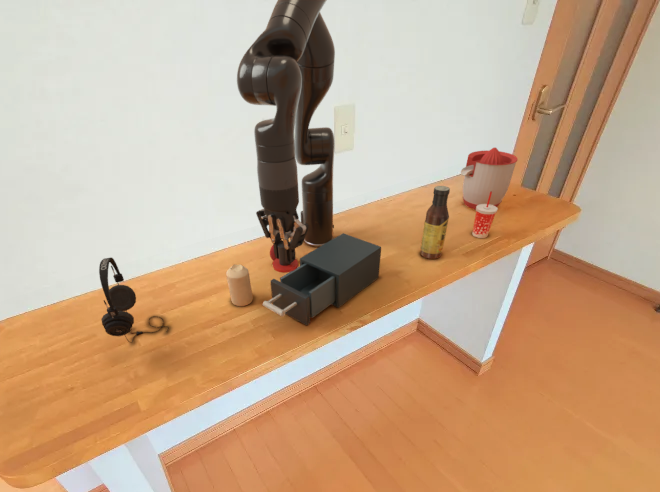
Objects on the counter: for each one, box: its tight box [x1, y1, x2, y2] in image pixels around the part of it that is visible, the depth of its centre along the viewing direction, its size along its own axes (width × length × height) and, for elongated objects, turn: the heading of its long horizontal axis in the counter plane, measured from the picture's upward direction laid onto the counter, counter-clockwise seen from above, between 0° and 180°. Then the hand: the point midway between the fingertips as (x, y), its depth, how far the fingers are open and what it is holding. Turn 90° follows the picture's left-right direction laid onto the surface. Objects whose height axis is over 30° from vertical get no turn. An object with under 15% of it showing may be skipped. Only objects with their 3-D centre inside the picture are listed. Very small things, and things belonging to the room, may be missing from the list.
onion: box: [269, 244, 277, 262], centre depth 110 cm, size 6×6×8 cm
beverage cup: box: [471, 191, 499, 239], centre depth 118 cm, size 6×6×14 cm
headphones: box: [98, 256, 170, 344], centre depth 83 cm, size 15×11×20 cm
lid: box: [272, 242, 299, 274], centre depth 83 cm, size 6×6×5 cm
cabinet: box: [299, 232, 382, 308], centre depth 100 cm, size 18×13×10 cm
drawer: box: [262, 263, 336, 326], centre depth 92 cm, size 22×11×8 cm, turn 138°
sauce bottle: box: [420, 185, 451, 260], centre depth 107 cm, size 7×6×20 cm
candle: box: [225, 263, 254, 307], centre depth 96 cm, size 6×6×10 cm
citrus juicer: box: [460, 147, 519, 211], centre depth 134 cm, size 16×17×20 cm
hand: (284, 259), depth 84 cm, fingers closed on lid, 2 cm apart
